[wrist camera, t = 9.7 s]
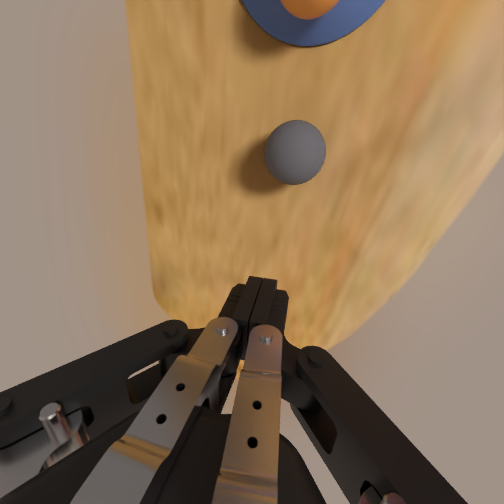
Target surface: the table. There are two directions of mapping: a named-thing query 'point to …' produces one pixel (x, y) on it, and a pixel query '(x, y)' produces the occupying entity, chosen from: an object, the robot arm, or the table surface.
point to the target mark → (311, 21)
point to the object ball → (308, 7)
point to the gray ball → (295, 152)
